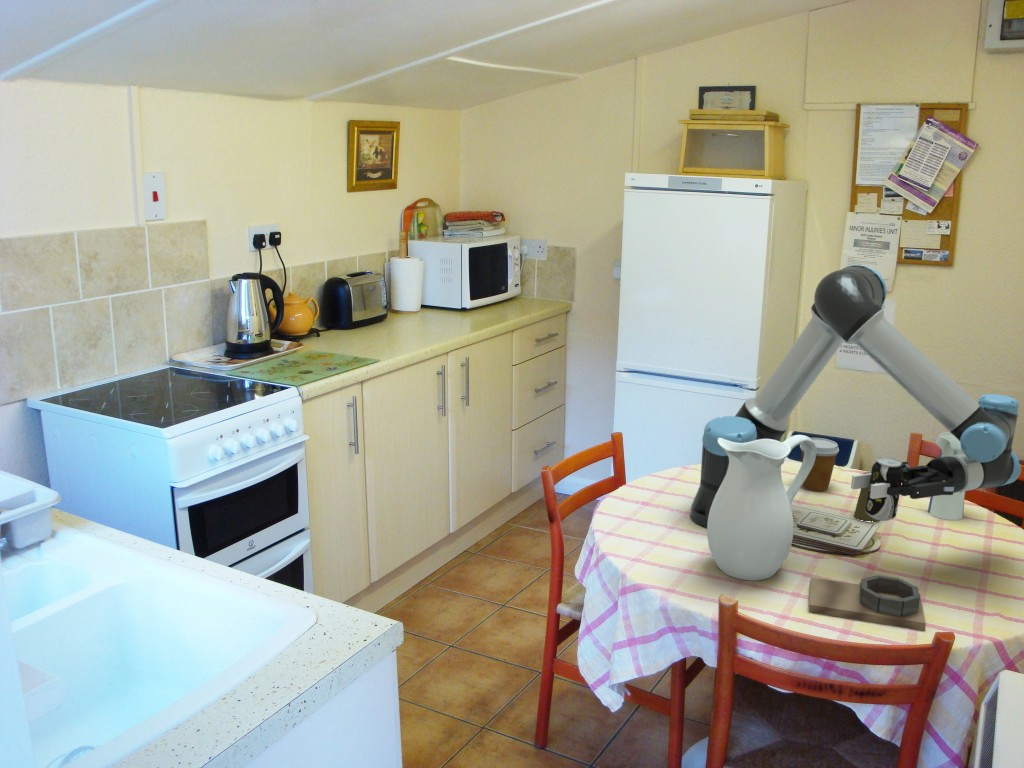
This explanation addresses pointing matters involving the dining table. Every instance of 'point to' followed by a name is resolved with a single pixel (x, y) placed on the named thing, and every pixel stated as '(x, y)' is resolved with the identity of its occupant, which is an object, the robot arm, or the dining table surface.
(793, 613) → the dining table surface
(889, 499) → the beverage can
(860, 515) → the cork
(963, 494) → the white tall figurine
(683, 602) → the dining table surface
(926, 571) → the dining table surface
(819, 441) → the disposable coffee cup
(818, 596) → the socket plate
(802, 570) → the dining table surface
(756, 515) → the pitcher
